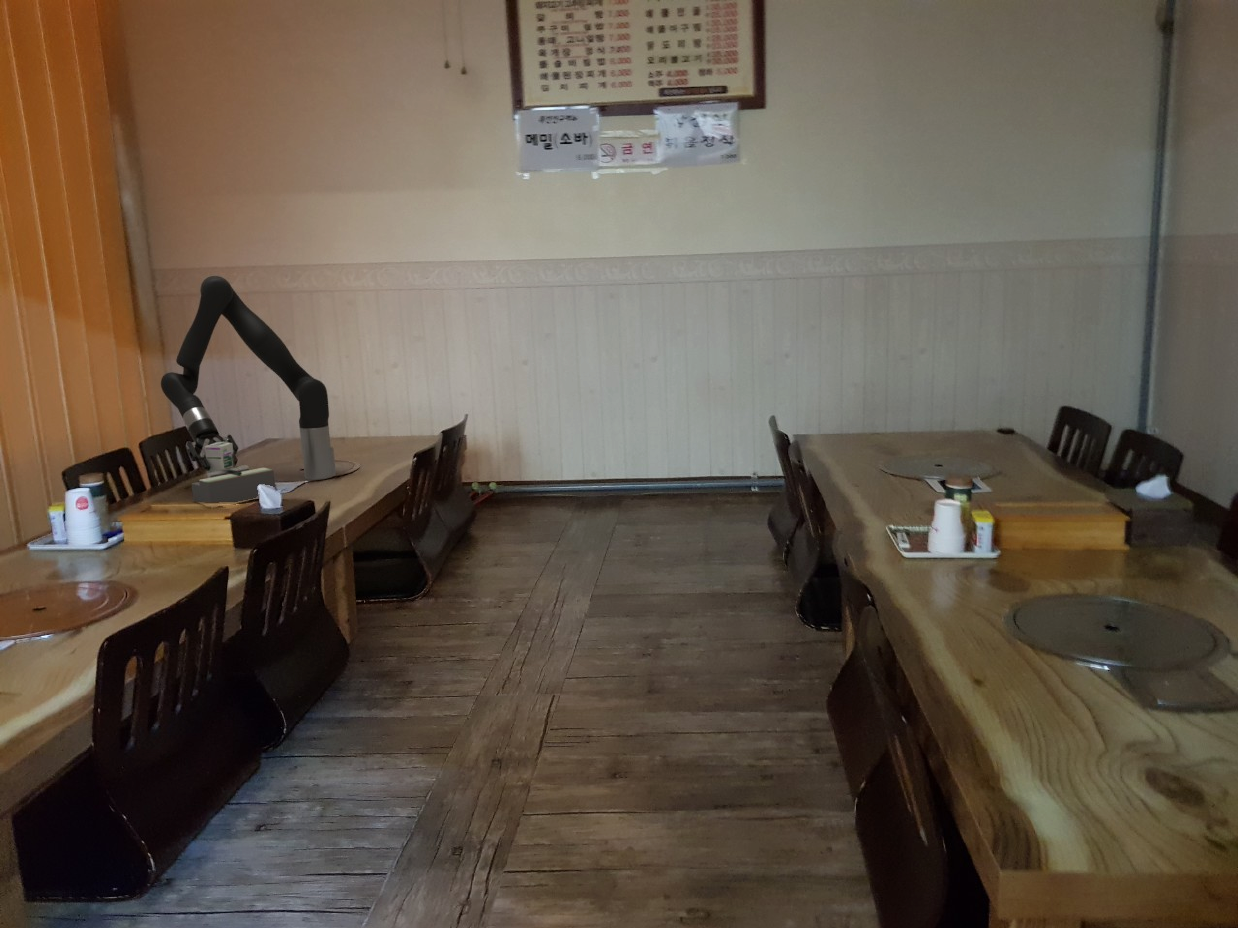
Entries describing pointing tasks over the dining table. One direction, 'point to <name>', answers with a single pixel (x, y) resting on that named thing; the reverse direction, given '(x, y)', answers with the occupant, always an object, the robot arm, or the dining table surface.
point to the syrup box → (220, 455)
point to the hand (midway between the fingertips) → (222, 466)
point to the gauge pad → (228, 471)
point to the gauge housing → (232, 486)
